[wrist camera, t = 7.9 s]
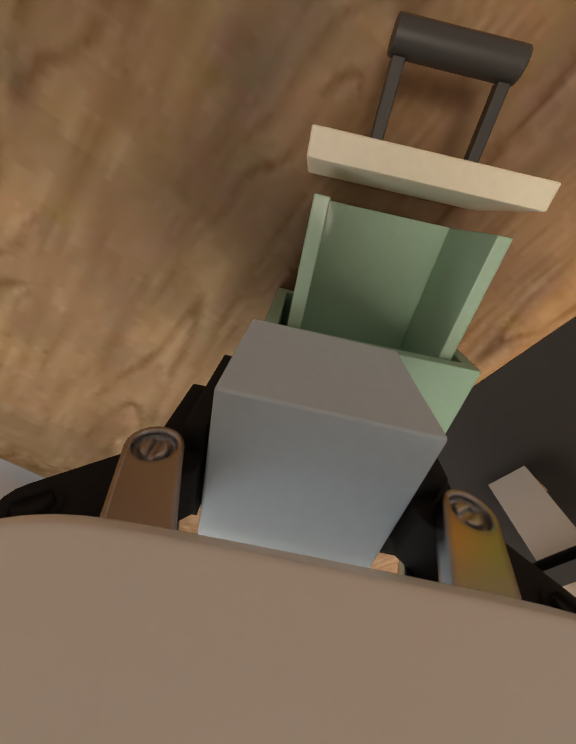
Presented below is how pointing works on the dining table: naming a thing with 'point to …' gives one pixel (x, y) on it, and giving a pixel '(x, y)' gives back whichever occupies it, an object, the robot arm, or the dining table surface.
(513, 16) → the dining table surface
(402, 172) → the drawer
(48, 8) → the dining table surface
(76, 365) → the dining table surface
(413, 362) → the cabinet
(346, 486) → the carton
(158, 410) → the dining table surface
